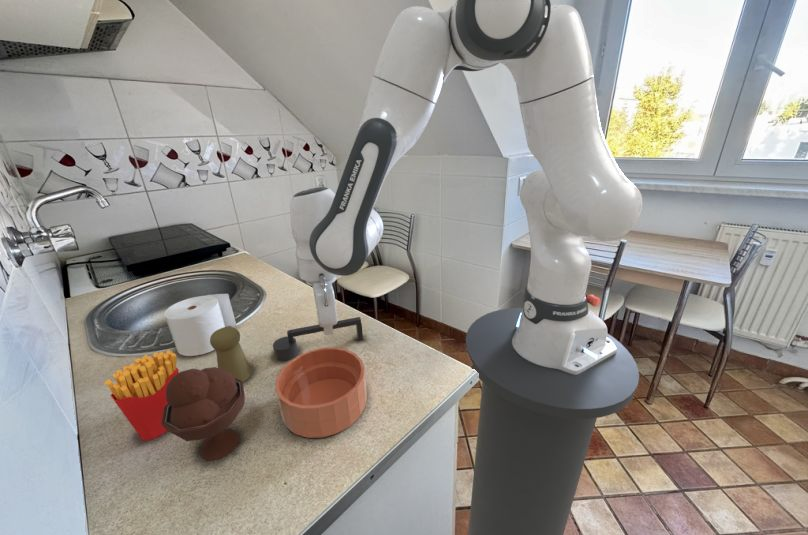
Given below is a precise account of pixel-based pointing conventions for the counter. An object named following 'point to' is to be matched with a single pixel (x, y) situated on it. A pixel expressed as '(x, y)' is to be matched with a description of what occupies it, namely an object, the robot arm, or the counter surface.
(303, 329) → the ladle
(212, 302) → the toilet tissue
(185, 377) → the ice cream bowl
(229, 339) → the cork
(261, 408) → the counter surface
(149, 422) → the french fries
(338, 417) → the bowl
